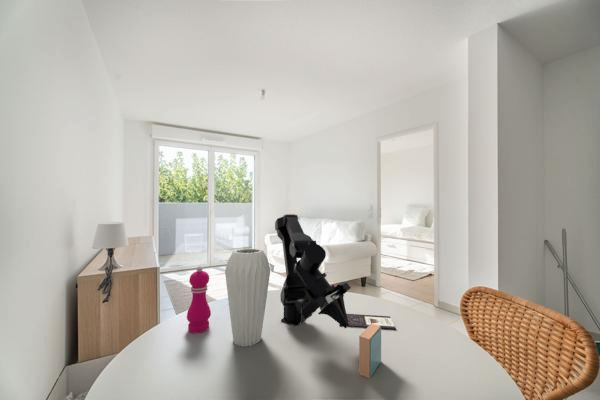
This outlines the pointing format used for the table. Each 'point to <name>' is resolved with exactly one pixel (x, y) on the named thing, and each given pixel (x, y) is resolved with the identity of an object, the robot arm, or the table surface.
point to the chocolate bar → (370, 321)
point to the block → (369, 350)
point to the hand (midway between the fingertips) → (347, 327)
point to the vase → (247, 294)
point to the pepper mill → (198, 302)
